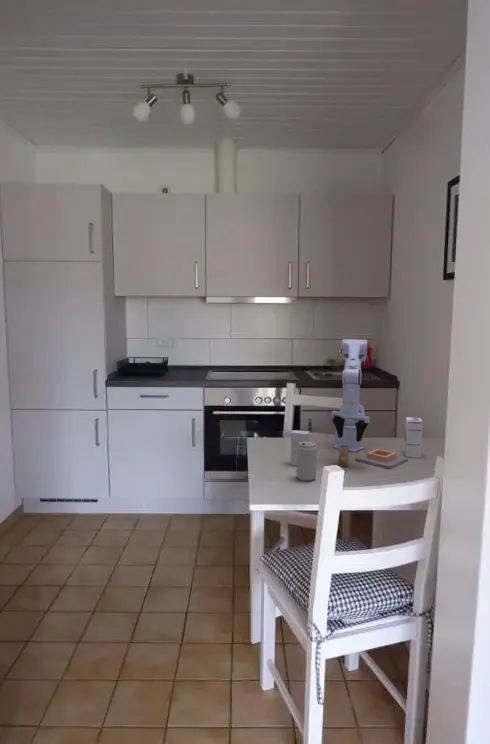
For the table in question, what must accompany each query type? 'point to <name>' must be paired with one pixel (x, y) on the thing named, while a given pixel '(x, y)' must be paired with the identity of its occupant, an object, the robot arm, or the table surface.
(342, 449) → the wood peg
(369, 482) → the table surface
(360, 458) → the collar stand
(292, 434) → the skincare box
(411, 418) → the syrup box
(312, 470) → the beverage can
